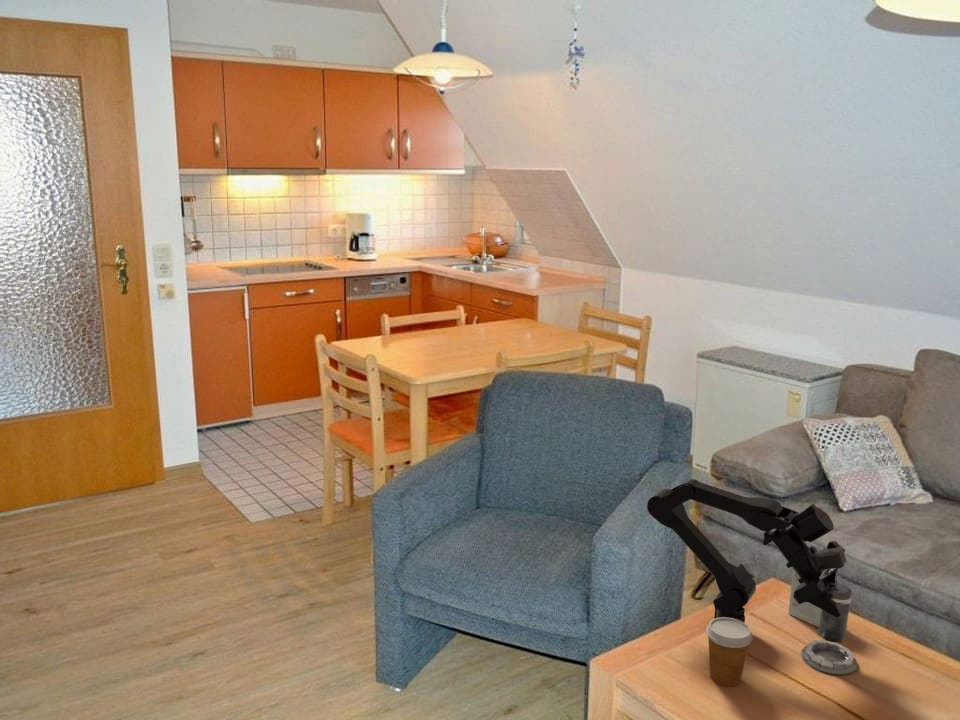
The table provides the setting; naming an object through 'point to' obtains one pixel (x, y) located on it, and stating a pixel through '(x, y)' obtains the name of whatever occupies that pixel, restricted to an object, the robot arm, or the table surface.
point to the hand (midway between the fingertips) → (841, 610)
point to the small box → (803, 606)
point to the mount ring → (829, 658)
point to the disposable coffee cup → (727, 649)
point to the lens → (831, 625)
